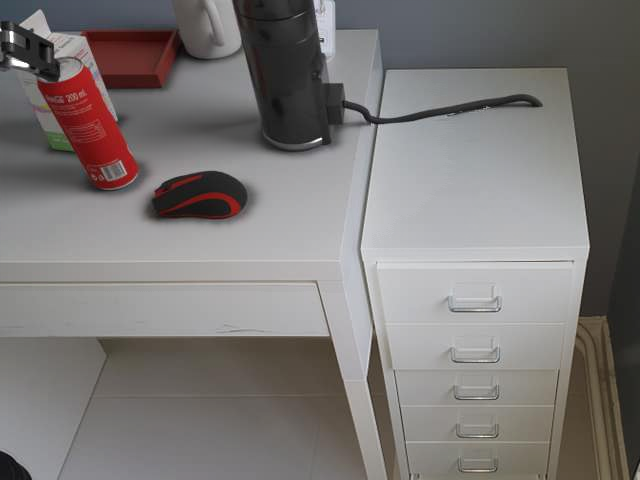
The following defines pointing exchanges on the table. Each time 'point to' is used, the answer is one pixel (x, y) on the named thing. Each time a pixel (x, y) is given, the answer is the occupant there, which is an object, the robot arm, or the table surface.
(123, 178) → the beverage can
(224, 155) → the table surface
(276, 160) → the table surface
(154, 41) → the drinks tray
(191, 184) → the computer mouse
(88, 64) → the ink box
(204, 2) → the mug
